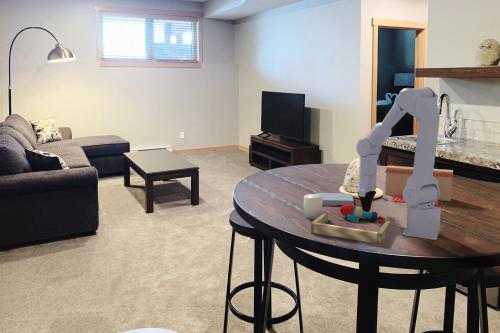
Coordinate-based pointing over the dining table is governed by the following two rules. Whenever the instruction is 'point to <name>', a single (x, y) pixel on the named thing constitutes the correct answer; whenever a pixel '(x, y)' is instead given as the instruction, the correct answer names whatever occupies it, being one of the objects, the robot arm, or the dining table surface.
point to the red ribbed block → (400, 175)
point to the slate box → (336, 198)
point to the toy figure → (359, 214)
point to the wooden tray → (348, 231)
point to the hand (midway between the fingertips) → (366, 211)
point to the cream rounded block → (312, 206)
